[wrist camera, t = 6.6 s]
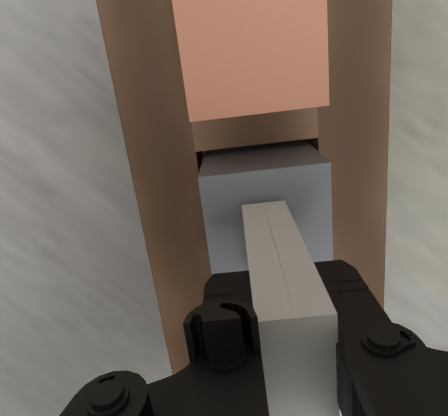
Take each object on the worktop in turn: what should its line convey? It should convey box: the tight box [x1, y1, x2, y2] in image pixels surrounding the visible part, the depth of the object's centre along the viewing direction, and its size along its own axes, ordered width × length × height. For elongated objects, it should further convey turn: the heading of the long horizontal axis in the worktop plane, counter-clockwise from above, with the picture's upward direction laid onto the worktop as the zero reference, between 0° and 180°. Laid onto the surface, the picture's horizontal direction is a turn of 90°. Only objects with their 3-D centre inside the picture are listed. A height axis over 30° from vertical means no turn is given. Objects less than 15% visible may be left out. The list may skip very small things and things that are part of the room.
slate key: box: [198, 139, 333, 275], centre depth 16 cm, size 5×5×5 cm
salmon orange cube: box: [172, 0, 329, 122], centre depth 14 cm, size 5×5×5 cm
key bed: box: [96, 0, 392, 375], centre depth 18 cm, size 11×24×4 cm, turn 7°
